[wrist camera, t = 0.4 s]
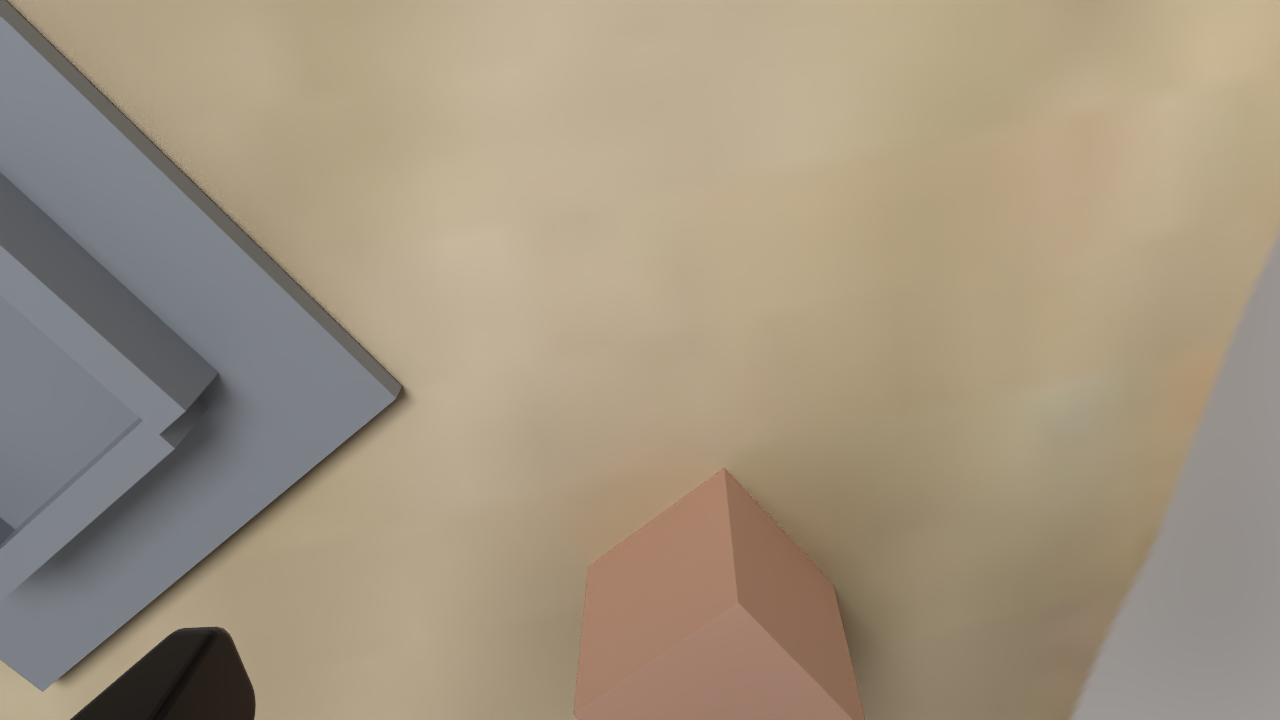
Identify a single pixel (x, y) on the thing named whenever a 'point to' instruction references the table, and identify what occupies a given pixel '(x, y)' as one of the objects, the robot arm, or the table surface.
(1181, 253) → the table surface
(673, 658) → the peg block
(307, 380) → the socket plate
